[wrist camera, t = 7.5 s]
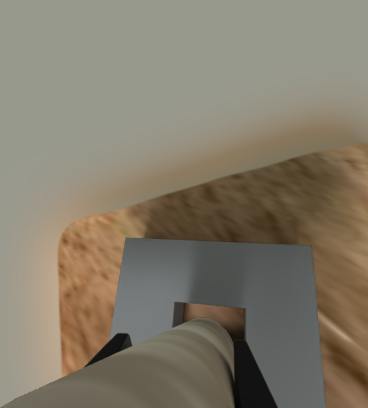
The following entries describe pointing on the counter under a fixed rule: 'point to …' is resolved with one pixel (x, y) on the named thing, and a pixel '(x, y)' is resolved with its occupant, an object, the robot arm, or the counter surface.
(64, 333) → the counter surface
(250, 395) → the robot arm
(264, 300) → the socket block
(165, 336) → the long pin
